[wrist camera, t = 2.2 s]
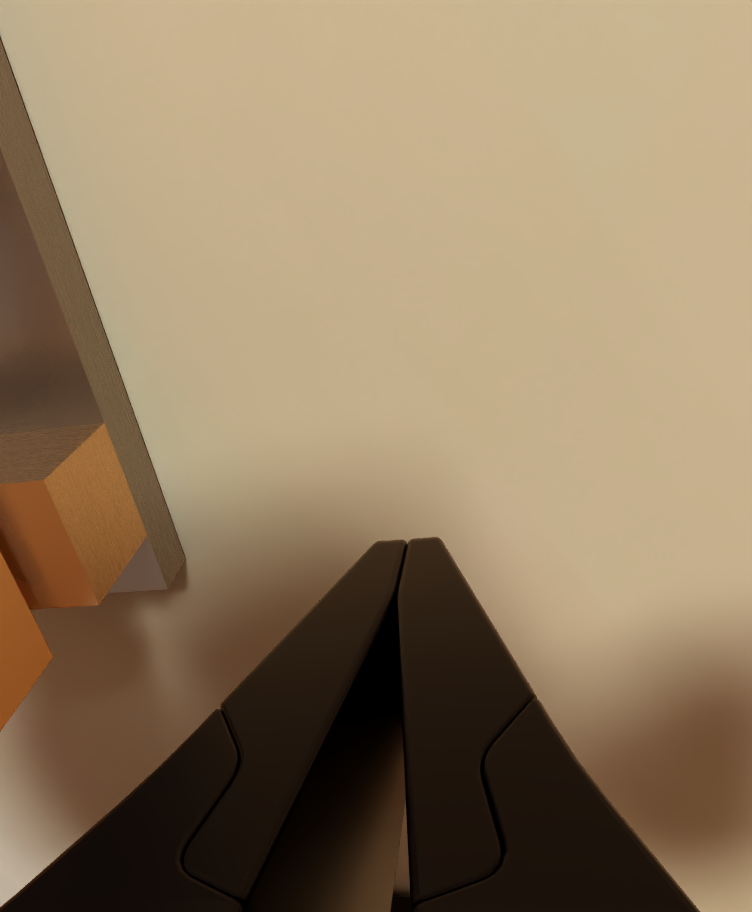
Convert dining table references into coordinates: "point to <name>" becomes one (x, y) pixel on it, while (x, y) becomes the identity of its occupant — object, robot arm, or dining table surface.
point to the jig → (64, 408)
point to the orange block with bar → (17, 646)
